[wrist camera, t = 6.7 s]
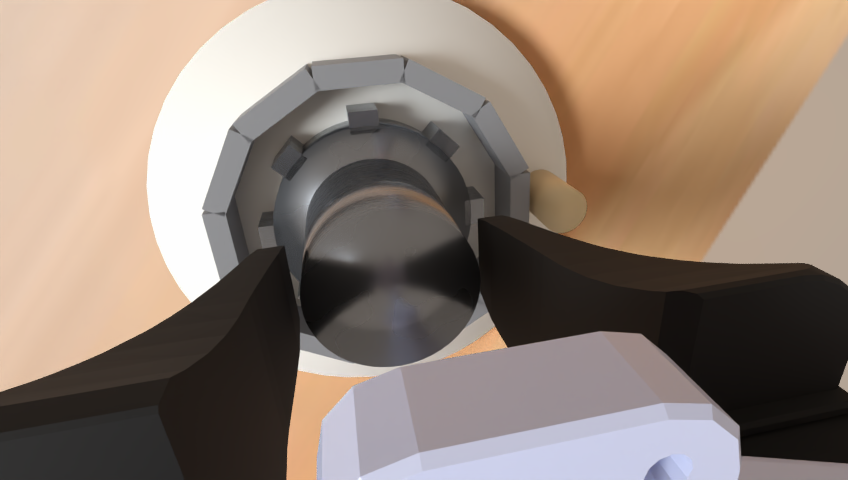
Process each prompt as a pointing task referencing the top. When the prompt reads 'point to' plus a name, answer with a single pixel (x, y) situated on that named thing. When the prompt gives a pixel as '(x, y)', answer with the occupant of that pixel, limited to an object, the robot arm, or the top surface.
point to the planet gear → (377, 237)
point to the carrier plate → (326, 106)
